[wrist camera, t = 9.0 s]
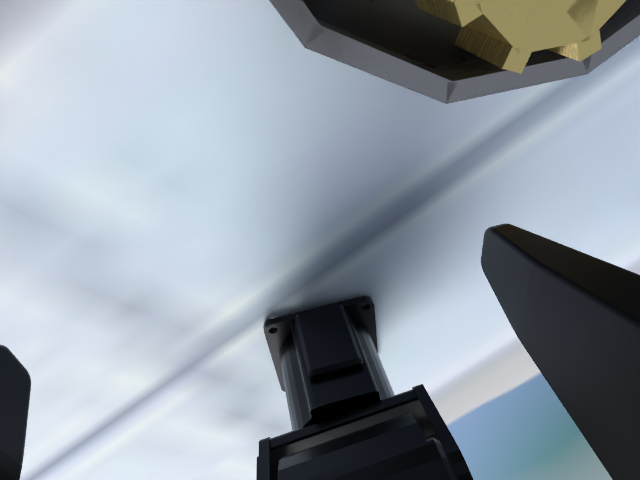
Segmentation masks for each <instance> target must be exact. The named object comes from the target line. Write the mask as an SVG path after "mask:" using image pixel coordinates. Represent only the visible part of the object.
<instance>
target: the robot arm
mask: <svg viewBox="0 0 640 480" xmlns="http://www.w3.org/2000/svg"><path fill="white" fill-rule="evenodd" d="M481 265H482V269H483V271H484V274H485V276H486V277H487V279H488V281H489V283H490V285H491V287H492V289H493V291H494V293H495V295H496V297H497V299H498V301H499V303H500V305H501V307H502V308H503V310H504V312H505V314H506V316H507V318H508V320H509V322H510V324H511V326H512V328H513V329H514V331H515V333H516V335H517V336H518V338H519V340H520V341H521V343H522V344H523V346H524V347H525V349H526V350H527V352H528V353H529V355H530V356H531V358H532V359H533V361H534V362H535V364H536V365H537V367H538V368H539V370H540V371H541V373H542V374H543V376H544V377H545V379H546V380H547V382H548V383H549V385H550V386H551V388H552V389H553V391H554V392H555V394H556V395H557V397H558V398H559V400H560V401H561V403H562V404H563V406H564V407H565V409H566V410H567V412H568V413H569V415H570V416H571V418H572V419H573V421H574V422H575V424H576V425H577V427H578V428H579V430H580V431H581V433H582V434H583V436H584V437H585V439H586V440H587V442H588V443H589V445H590V446H591V448H592V449H593V451H594V452H595V454H596V455H597V456H598V458H599V460H600V461H601V463H602V464H603V466H604V467H605V469H606V470H607V471H608V473H609V475H610V476H611V478H612V479H613V480H640V275H638V274H636V273H633V272H631V271H628V270H626V269H623V268H621V267H618V266H615V265H613V264H610V263H608V262H605V261H603V260H600V259H598V258H595V257H593V256H590V255H587V254H585V253H582V252H580V251H577V250H575V249H572V248H570V247H567V246H564V245H562V244H559V243H557V242H554V241H552V240H549V239H547V238H544V237H542V236H539V235H536V234H534V233H531V232H529V231H526V230H524V229H521V228H519V227H516V226H513V225H511V224H501V225H497V226H493V227H489V228H488V229H487V230H486V231H485V234H484V241H483V248H482V256H481ZM365 304H366V305H365ZM363 305H364V306H363ZM272 327H275V328H272ZM270 328H272V329H270ZM264 333H265V336H266V340H267V343H268V346H269V349H270V353H271V356H272V359H273V363H274V366H275V369H276V373H277V376H278V379H279V382H280V386H281V389H282V390H283V391H284V392H286V397H287V403H288V408H289V414H290V419H291V425H292V430H293V431H291V432H288V433H286V434H283V435H280V436H277V437H274V438H270V437H268V438H265V439H263V440H260V441H259V456H258V457H257V480H473V478H472V476H471V473H470V471H469V469H468V466H467V464H466V462H465V460H464V457H463V456H462V454H461V451H460V449H459V447H458V446H457V444H456V442H455V440H454V438H453V437H452V435H451V433H450V431H449V430H448V428H447V426H446V424H445V423H444V421H443V419H442V417H441V416H440V414H439V412H438V410H437V409H436V407H435V405H434V403H433V402H432V400H431V398H430V396H429V395H428V393H427V391H426V389H425V388H424V386H423V384H421V385H418V386H415V387H412V390H409V391H407V392H404V393H401V394H398V395H394V393H393V390H392V388H391V385H390V383H389V380H388V378H387V375H386V373H385V371H384V368H383V366H382V363H381V361H380V358H379V356H378V352H377V338H376V324H375V310H374V303H373V301H372V299H371V298H370V297H369V296H363V297H359V298H355V299H351V300H347V301H343V302H339V303H335V304H331V305H327V306H323V307H319V308H315V309H311V310H307V311H303V312H299V313H295V314H291V315H287V316H283V317H279V318H275V319H271V320H268V321H266V322H265V324H264ZM30 390H31V379H30V375H29V373H28V371H27V370H26V369H25V368H24V366H23V365H22V364H21V363H20V362H19V361H18V359H17V358H16V357H15V356H14V355H13V354H12V352H11V351H10V350H9V349H8V348H7V347H5V346H3V345H0V480H19V479H20V474H21V469H22V462H23V455H24V446H25V437H26V428H27V418H28V409H29V399H30Z"/></svg>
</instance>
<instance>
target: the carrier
mask: <svg viewBox="0 0 640 480" xmlns="http://www.w3.org/2000/svg"><path fill="white" fill-rule="evenodd" d="M269 1H270V2H271V4H272V5H273V6H274V8H275V9H276V10H277V12H278V13H279V14H280V16H281V17H282V18H283V20H284V21H285V22H286V24H287V25H288V26H289V28H290V29H291V30H292V32H293V33H294V34H295V36H296V37H297V38H298V39H299V41H300V42H301V43H302V45H303V46H304V47H305V48H307V49H310V50H312V51H315V52H317V53H320V54H322V55H325V56H327V57H330V58H332V59H335V60H337V61H340V62H342V63H345V64H347V65H350V66H353V67H355V68H358V69H360V70H363V71H365V72H368V73H370V74H373V75H375V76H378V77H380V78H383V79H385V80H388V81H390V82H393V83H395V84H398V85H400V86H403V87H405V88H408V89H411V90H413V91H416V92H418V93H421V94H423V95H426V96H428V97H431V98H433V99H436V100H438V101H441V102H443V103H446V104H447V103H452V102H457V101H461V100H466V99H471V98H476V97H481V96H485V95H490V94H495V93H500V92H504V91H509V90H514V89H519V88H523V87H528V86H533V85H538V84H542V83H547V82H552V81H557V80H561V79H566V78H571V77H576V76H580V75H585V74H588V73H589V72H591V71H592V70H593V69H595V68H596V67H597V66H599V65H600V64H602V63H603V62H604V61H606V60H607V59H608V58H610V57H611V56H612V55H614V54H615V53H616V52H618V51H619V50H620V49H622V48H623V47H625V46H626V45H627V44H629V43H630V42H631V41H633V40H634V39H635V38H637V37H638V36H639V35H640V0H626V1H625V2H624V3H623V4H622V5H621V7H620V8H619V9H618V10H617V11H616V12H615V13H614V14H613V15H612V16H611V17H610V18H609V19H608V20H607V22H606V23H605V24H604V25H603V26H602V27H601V28H600V29H599V30H600V38H601V47H602V49H600V50H598V51H597V52H595V53H594V54H592V55H590V56H589V57H587V58H585V59H584V60H582V61H580V62H579V61H576V60H574V59H571V58H569V57H566V56H564V55H561V54H558V53H556V52H553V51H551V50H548V49H544V50H539V51H534V52H532V53H531V55H530V57H529V59H528V61H527V63H526V65H525V67H524V69H523V71H522V73H521V74H520V73H517V72H513V71H509V70H505V69H502V68H500V67H498V66H496V65H494V64H492V63H490V62H488V61H486V60H484V59H482V58H480V57H478V56H476V55H474V54H473V53H471V52H469V51H467V50H465V49H463V48H461V47H459V46H457V45H455V42H456V40H457V37H458V35H459V32H460V30H461V27H460V26H458V25H456V24H453V23H451V22H449V21H447V20H444V19H442V18H440V17H437V16H435V15H433V14H430V13H428V12H426V11H423V10H421V9H419V8H418V6H417V4H416V1H415V0H269Z"/></svg>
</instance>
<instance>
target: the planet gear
mask: <svg viewBox="0 0 640 480" xmlns="http://www.w3.org/2000/svg"><path fill="white" fill-rule="evenodd" d="M415 1H416V4H417V6H418V8H419V9H421V10H423V11H426V12H428V13H430V14H433V15H435V16H437V17H440V18H442V19H444V20H447V21H449V22H451V23H453V24H456V25H458V26H460V27H461V30H460V32H459V35H458V37H457V40H456V42H455V45H457V46H459V47H461V48H463V49H465V50H467V51H469V52H471V53H473V54H474V55H476V56H478V57H480V58H482V59H484V60H486V61H488V62H490V63H492V64H494V65H496V66H498V67H500V68H502V69H505V70H509V71H513V72H517V73H520V74H521V73H522V71H523V69H524V67H525V65H526V63H527V61H528V59H529V57H530V55H531V53H532V52H534V51H539V50H544V49H548V50H551V51H553V52H556V53H558V54H561V55H564V56H566V57H569V58H571V59H574V60H576V61H579V62H580V61H582V60H584V59H585V58H587V57H589V56H590V55H592V54H594V53H595V52H597V51H598V50H600V49H602V47H601V38H600V30H599V29H600V28H601V27H602V26H603V25H604V24H605V23H606V22H607V20H608V19H609V18H610V17H611V16H612V15H613V14H614V13H615V12H616V11H617V10H618V9H619V8H620V7H621V5H622V4H623V3H624V2H625V1H626V0H415Z"/></svg>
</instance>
